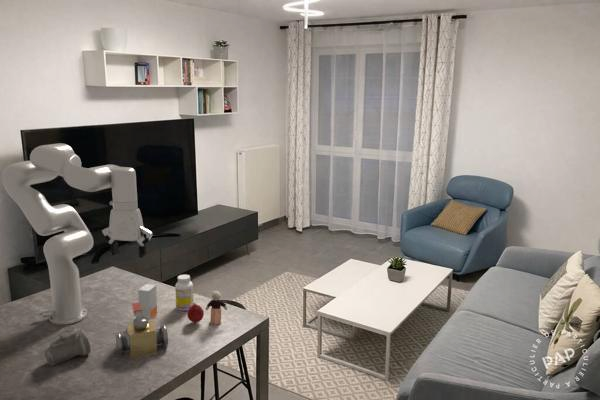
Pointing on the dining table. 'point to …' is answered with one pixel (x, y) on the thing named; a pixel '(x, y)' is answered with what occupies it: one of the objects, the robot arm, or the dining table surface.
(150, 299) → the skincare box
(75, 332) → the pipe fitting
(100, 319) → the dining table surface
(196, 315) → the onion
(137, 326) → the lever
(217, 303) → the grandmother figurine
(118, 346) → the valve
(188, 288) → the supplement bottle
